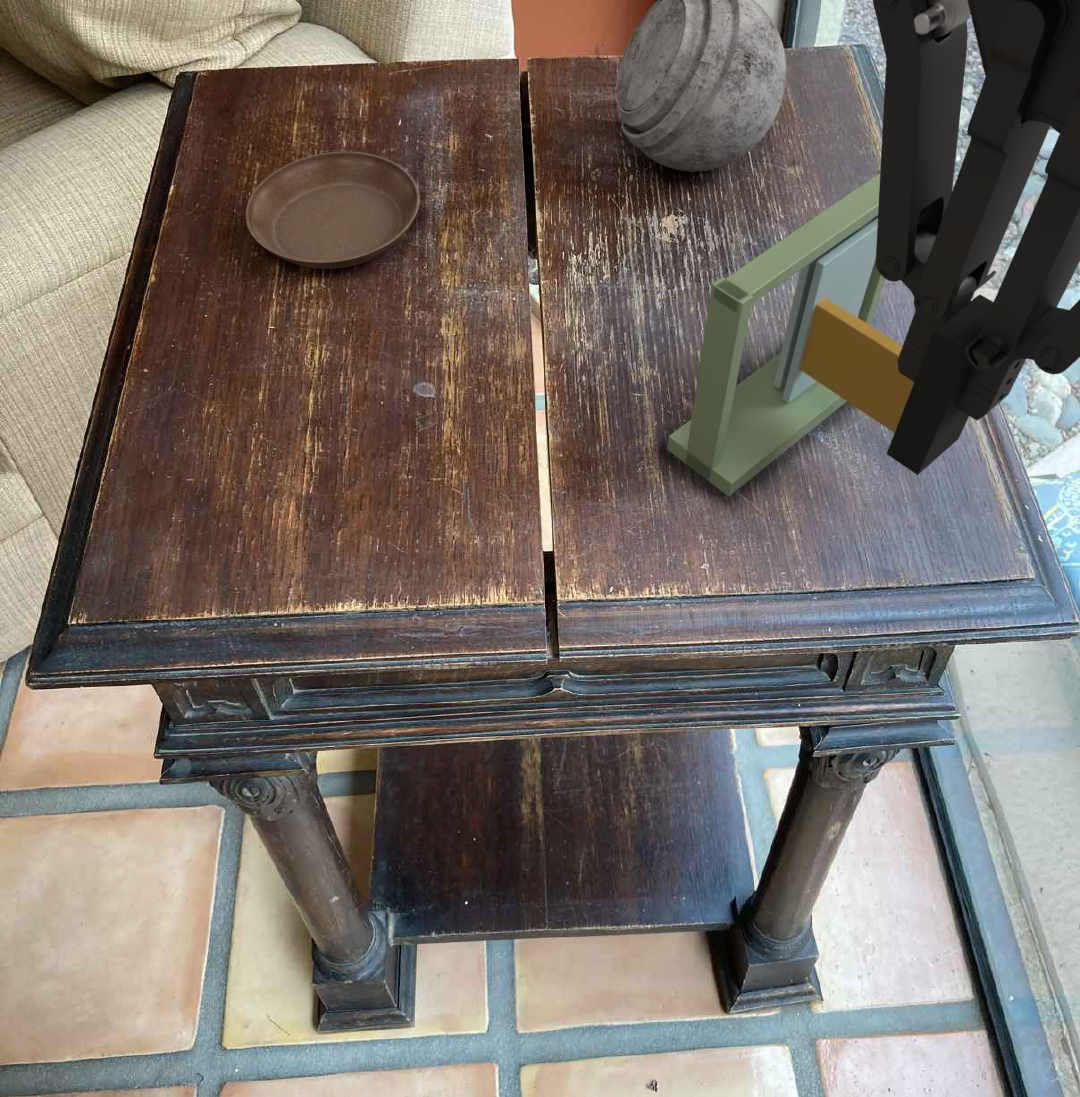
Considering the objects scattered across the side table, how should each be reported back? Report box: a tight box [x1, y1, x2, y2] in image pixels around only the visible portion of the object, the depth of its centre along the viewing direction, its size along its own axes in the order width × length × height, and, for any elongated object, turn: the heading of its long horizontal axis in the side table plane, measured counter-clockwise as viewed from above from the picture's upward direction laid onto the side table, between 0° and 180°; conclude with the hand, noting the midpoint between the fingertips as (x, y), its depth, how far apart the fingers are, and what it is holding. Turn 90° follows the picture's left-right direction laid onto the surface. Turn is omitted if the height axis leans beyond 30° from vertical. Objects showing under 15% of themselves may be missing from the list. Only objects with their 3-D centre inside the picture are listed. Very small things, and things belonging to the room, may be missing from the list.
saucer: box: [245, 150, 421, 270], centre depth 90 cm, size 15×15×3 cm
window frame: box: [666, 169, 887, 497], centre depth 71 cm, size 6×17×16 cm, turn 132°
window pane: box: [782, 218, 914, 433], centre depth 70 cm, size 11×7×13 cm, turn 42°
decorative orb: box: [615, 0, 787, 172], centre depth 91 cm, size 15×14×15 cm
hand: (922, 446), depth 41 cm, fingers closed
